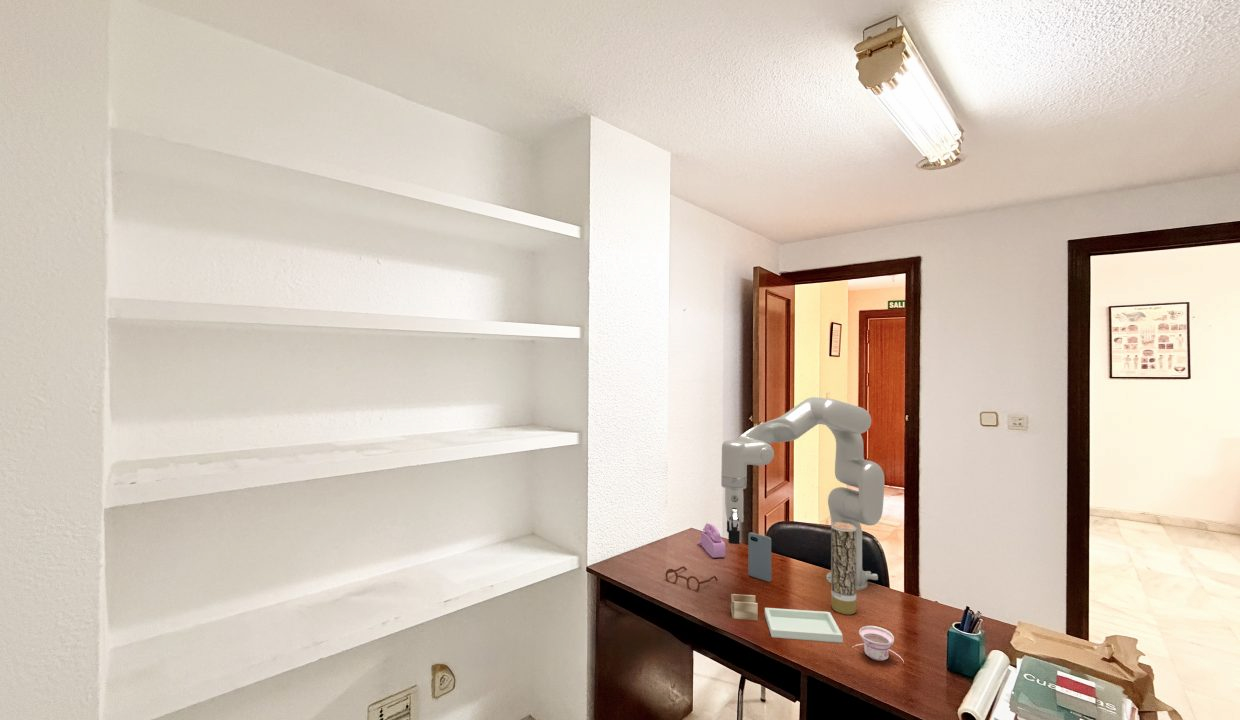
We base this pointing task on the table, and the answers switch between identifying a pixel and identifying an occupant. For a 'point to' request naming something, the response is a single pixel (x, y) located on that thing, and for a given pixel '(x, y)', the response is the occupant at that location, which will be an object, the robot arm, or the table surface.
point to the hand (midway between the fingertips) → (732, 537)
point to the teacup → (876, 642)
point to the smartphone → (759, 556)
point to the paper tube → (843, 568)
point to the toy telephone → (712, 541)
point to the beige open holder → (744, 607)
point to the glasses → (686, 578)
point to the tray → (803, 625)
